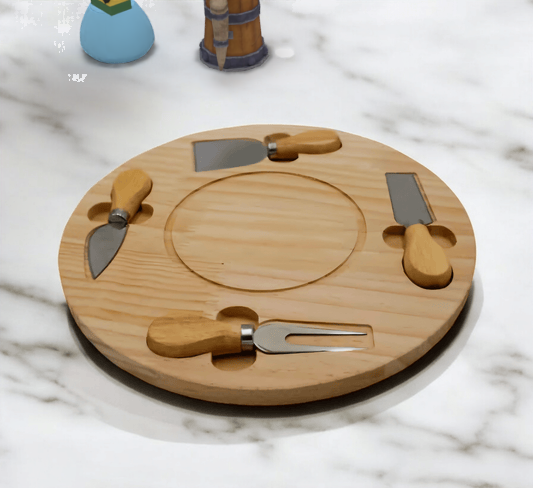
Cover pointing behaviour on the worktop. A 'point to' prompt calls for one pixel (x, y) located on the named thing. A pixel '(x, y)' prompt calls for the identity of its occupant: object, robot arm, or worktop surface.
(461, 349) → the worktop surface
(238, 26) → the mug
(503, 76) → the worktop surface
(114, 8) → the sponge
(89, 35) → the sugar bowl
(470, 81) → the worktop surface
